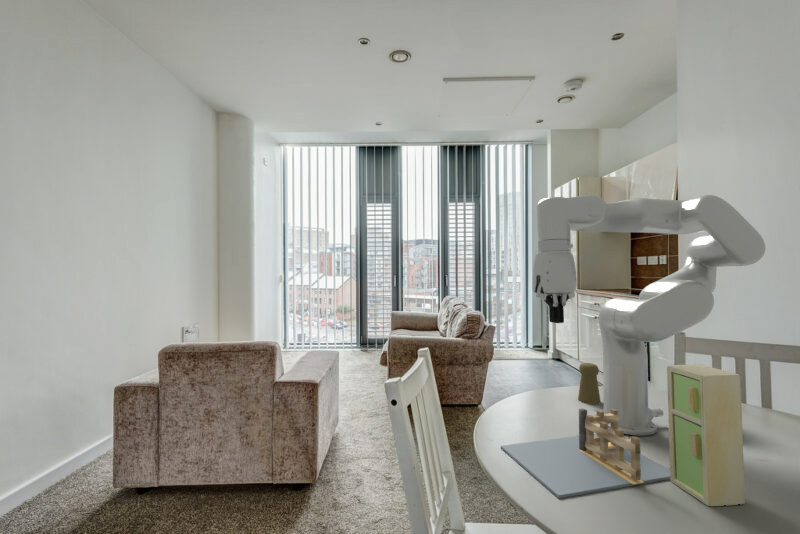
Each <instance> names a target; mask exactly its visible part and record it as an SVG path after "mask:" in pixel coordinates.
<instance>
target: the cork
mask: <svg viewBox="0 0 800 534" xmlns="http://www.w3.org/2000/svg"><path fill="white" fill-rule="evenodd" d="M578 372H580V373H579V374H580V381H579V389H578V396H577V397H578V398H577V401H578V402H580V401H581V403H583V402H584V403H583V404H586V403H588V405H600V404H601V395H600V390H599V383H598V382H599V381H598V374H599V372H600V370H599V366H598V365H596V364H594V363H591V362H582V363H581V364H580V365H579V367H578ZM599 403H600V404H599Z"/></svg>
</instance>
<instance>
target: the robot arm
mask: <svg viewBox="0 0 800 534" xmlns="http://www.w3.org/2000/svg"><path fill="white" fill-rule="evenodd" d="M536 205H537V206H536V219H537V220H536V223H537V246H538V247H537V251H538V253H535V257H534V261H533V266H532V267H533V268H532V291H533V293H535V295H536V297H535V298H536V299H538V300H542V301H544V302H545V304H546V306H547V307H548V315H549V316H548V318H549V320H548V321H549V322H550V323H553V324H563V323H565V314H564V307H566V305H567V302H568V300H570V299H572V298H575V296H576V294H575V292H576V291H577V288H578V287H577V285H578V284H577V271H576V264H575V258H574V254H573V253H572V249H573V247H574V245H573V243H572V242H571V232H572V231H574V232H589V233H591V232H594V233H595V232H596V233H604V232H605V233H645V234H664V235H689V234H697V233H704V232H707V233H708V234H707V233H706V234H703V235H700V236H697V237H695V238H694V239H693V240H691V241H690V243H689V244H688V245H687V247H686V251H685V256H684V257H685V258H684V259H685V261H684V264H683V266H682V267H681V268H680V269H677V271H675V272H672V273H671V274H669V275H666V276H665V277H663V278H660V279H658V280H656V281H654V282H652V283H649V284H648V285H646V286H645V287H644V288H643V289H641V291H640V293H639V295H638V298H636V297H635V298H634V297H621V296H620V297H614V298H611V299H608V300H607V301H605V302H604V303H603V304H602V305H601V307H600V309H599V311H598V324H599V329H600V334H601V341H602V342H601V343H602V358H603V359H602V360H603V361H602V369H603V372H602V374H603V375H602V376H603V378H602V379H603V383H602V384H603V412H604V414H608V413H611V409H616V410H618V415H619V422H618V429H621V430H623V431H624V435H629V436H636V437H639V436H641V437H644V436H651V435H654V434H655V433H656V432H657V425H656V424H655V422H653V420H652V419H654V418H659V417H663V416H664V411H663V409H661V408H657V407H656V408H650V407H649V383H648V382H649V374H648V373H649V372H648V371H649V370H648V369H649V368H648V365H649V363H648V362H649V361H648V360H649V359H648V358H649V357H648V352H647V347H646V343H657V342H661V341H664V340H666V339H668V338H671V337H672V336H675V335H677V334H679V333H682V332H683V331H686V330H688V329H689V328H691V327H693V326H696V325H698V324H699V323H701V322H703V321H704V320H705V319H706V318H708V316H710V314H711V312H712V310H713V308H714V305H715V298H714V294H713V292H714V290H715V289H716V286H717V269H718V268H719V267H722V268H724V267H743V266H744V267H746V266H750V265H753V264H754V265H755V263H758V262H759V261H760V260H761V259H762V258H763V257H764V255H765V253H766V243H765V240H764V238H763V236H762V235H761V233H760V232H759V231H758V230H757V229H756V228H755V227H754V226H753V225H752V224H751V223H750V222H749V221H748V220H747V219H746V218H745V217H744V216H743V215H742V214H741V213H740V212H739V211H738V210H737V209H736V208H735V207H734V206H732V205H731V204H730V203H729V202H728V201H726V200H725V199H723V198H721V197H719V196H717V195H714V194H704V195H700V196H697V197H693V198H690V199H689V198H688V199H679V200H678V199H677V200H676V199H663V198H661V199H660V198H645V197H643V198H642V197H639V198H638V197H637V198H631V199H624V200H621V201H620V200H619V201H615V202H606V201H605V200H604V198H602V197H600V196H599V195H596V194H585V195H578V196H571V197H565V196H564V197H563V196H551V197H550V196H549V197H545V198H542V199H540V200H538V202H537V204H536ZM645 342H646V343H645ZM608 429H610V430H611V423H608Z"/></svg>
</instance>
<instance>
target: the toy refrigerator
mask: <svg viewBox="0 0 800 534" xmlns="http://www.w3.org/2000/svg"><path fill="white" fill-rule="evenodd" d="M666 380H667V382H666V383H667V404H668V405H667V407H668V409H667V410H668V442H669V443H668V445H669V469H670V477H671V479H670V482H671V483H673V484H674V485H676V486H677V487H679V488H680V489H682V490H683V491H685V492H686V493H688V494H689V495H691V496H692V497H694V498H695V499H697V500H698V501H700V502H701V503H703V504H704V505H706V506H707V507H723V506H724V505H726V506H738V504H740V505H745V504H746V494H745V493H746V491H745V487H746V486H745V467H744V466H745V465H744V464H745V463H744V440H743V439H744V438H743V437H744V435H743V415H742V413H743V412H742V411H743V409H742V388H741V387H742V386H741V384H742V381H741V376H740V374H738V373H735V372H731V371H728V370H723V369H720V368H715V367H711V366H707V365H705V364H698V363H697V364H696V363H694V364H672V365H670V364H669V365H667V366H666Z"/></svg>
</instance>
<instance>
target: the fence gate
mask: <svg viewBox="0 0 800 534" xmlns="http://www.w3.org/2000/svg"><path fill="white" fill-rule="evenodd" d="M585 428H586V441H585V447H586V450H587V451H588V452H594V453H596V454H598V455H599V456H600V459H601V460H603V461H609V462H611V463H613V464H614V465H615V468H616V469H618V470H625V471H626V472H628V473H630V474H631V478H633V479H635V480H641V469H640V454H642V453H641V452H642V451H641V450H642V449H641V446H642V445H641V439H640V438H639V436H636V435H633V436H630V438H629V437H626V436H625V434H624V431H623V430H621V429H615V432H614V431H612V430H610V429H608V423H606V422H600V424H598V423H596V422H594V417H593V416H591V414H587V415H586V420H585ZM594 434H598V435H600V446H599V445H597V444H595V443H594ZM608 440H609V441H611V442H613V443H615V454H613V453H611V452H609V451H608ZM624 449H626V450H628V451H630V452H631V463H629V462H627V461H625V460H624Z"/></svg>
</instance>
